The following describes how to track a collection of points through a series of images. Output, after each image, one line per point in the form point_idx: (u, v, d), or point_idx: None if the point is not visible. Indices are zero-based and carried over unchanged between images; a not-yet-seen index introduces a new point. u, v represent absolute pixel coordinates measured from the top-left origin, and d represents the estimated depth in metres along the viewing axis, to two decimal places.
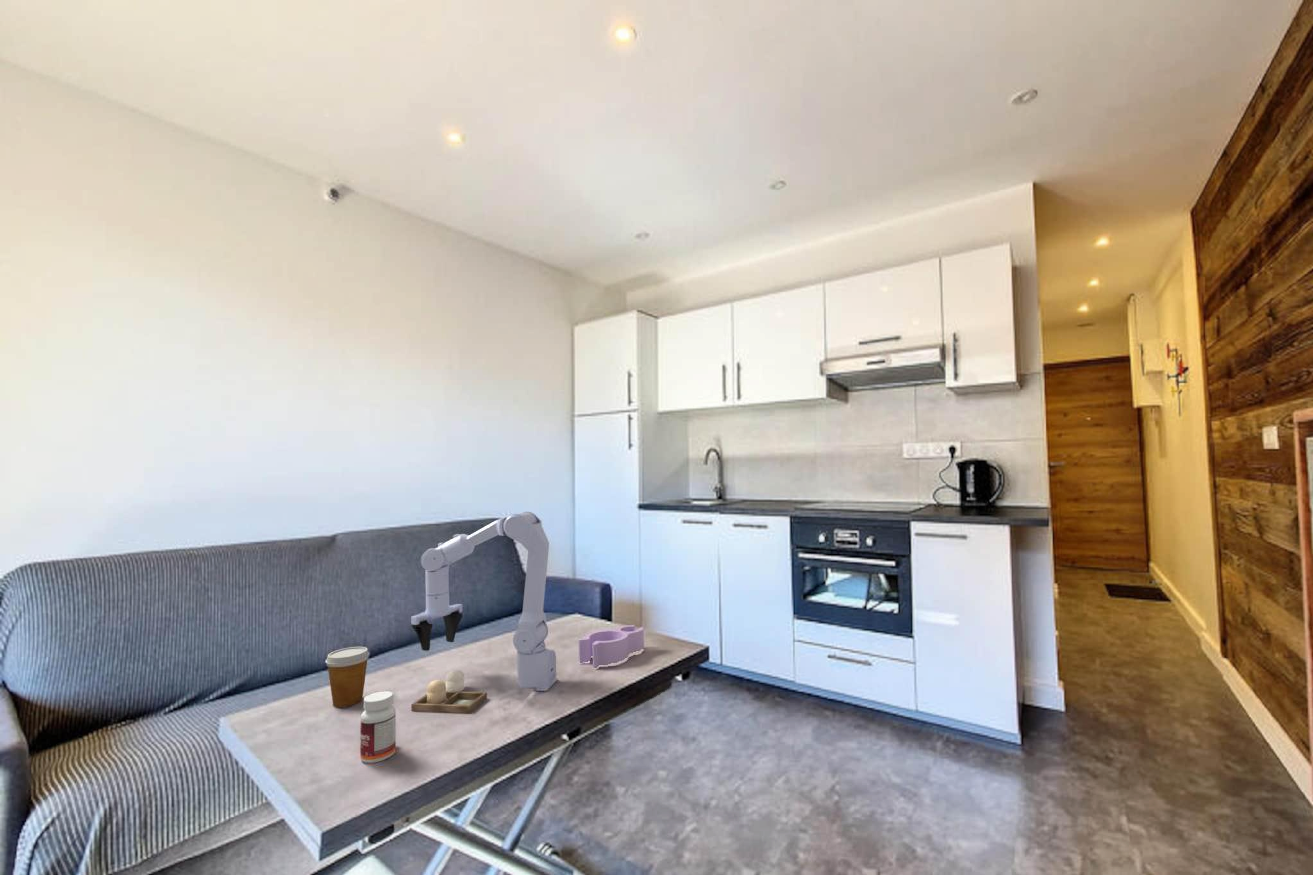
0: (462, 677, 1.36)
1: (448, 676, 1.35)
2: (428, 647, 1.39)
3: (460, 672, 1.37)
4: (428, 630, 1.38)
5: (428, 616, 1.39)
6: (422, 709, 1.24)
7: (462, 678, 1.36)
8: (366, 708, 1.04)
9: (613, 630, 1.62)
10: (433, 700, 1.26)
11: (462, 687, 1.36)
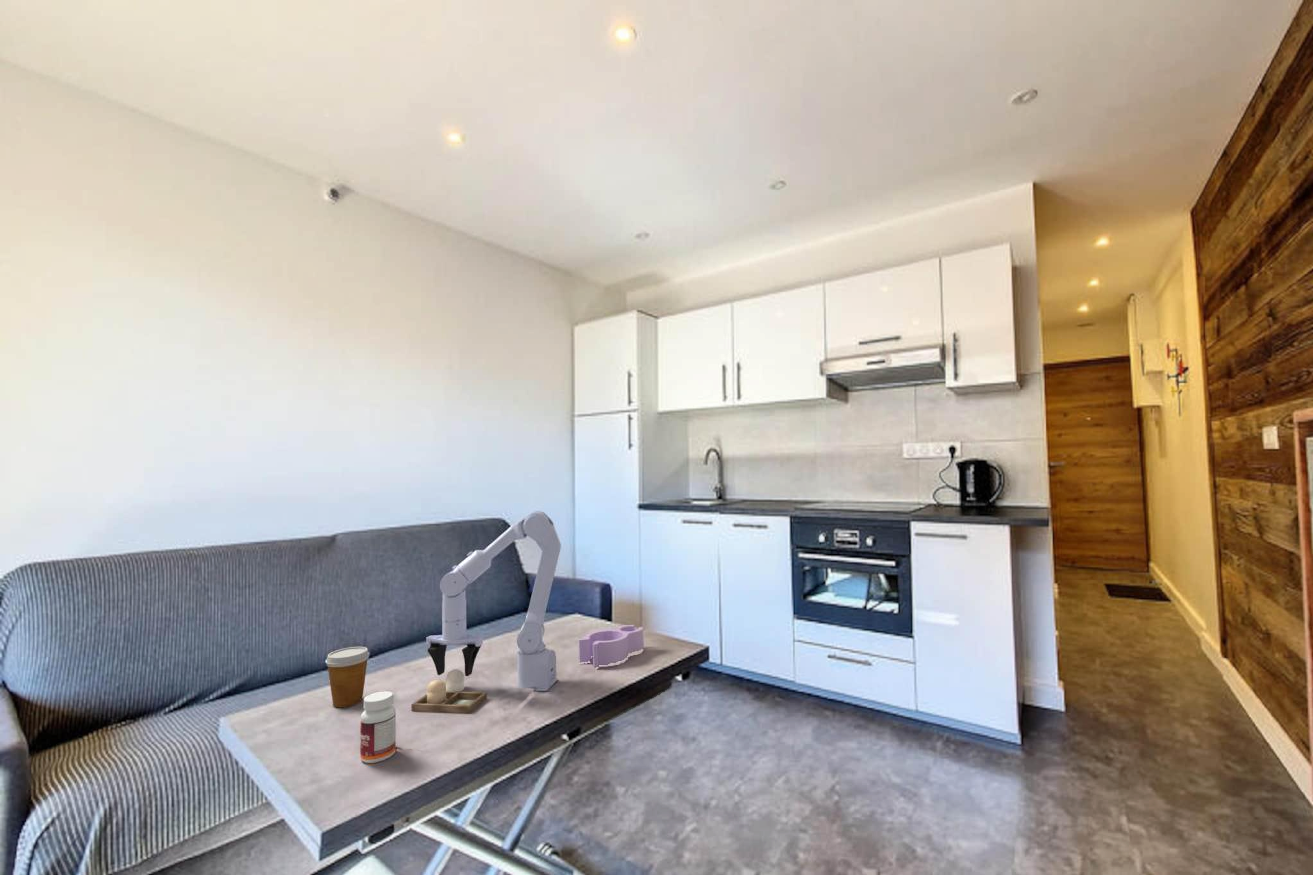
0: (462, 677, 1.36)
1: (448, 676, 1.35)
2: (437, 672, 1.36)
3: (460, 672, 1.37)
4: (433, 655, 1.36)
5: (435, 640, 1.36)
6: (422, 709, 1.24)
7: (462, 678, 1.36)
8: (366, 708, 1.04)
9: (613, 630, 1.62)
10: (433, 700, 1.26)
11: (462, 687, 1.36)
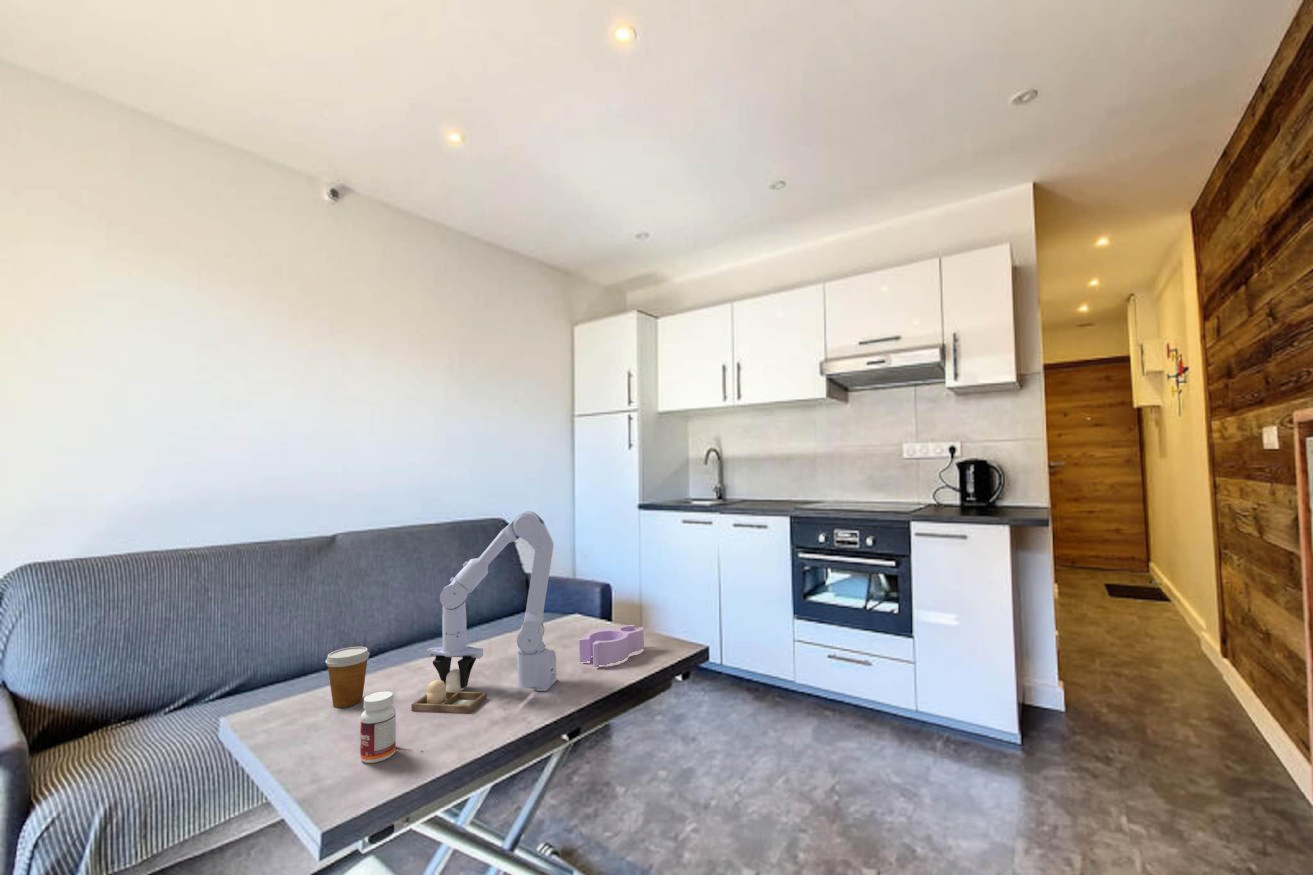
0: None
1: (448, 676, 1.35)
2: None
3: None
4: (438, 667, 1.35)
5: (435, 652, 1.36)
6: (422, 709, 1.24)
7: None
8: (366, 708, 1.04)
9: (613, 630, 1.63)
10: (433, 700, 1.26)
11: None
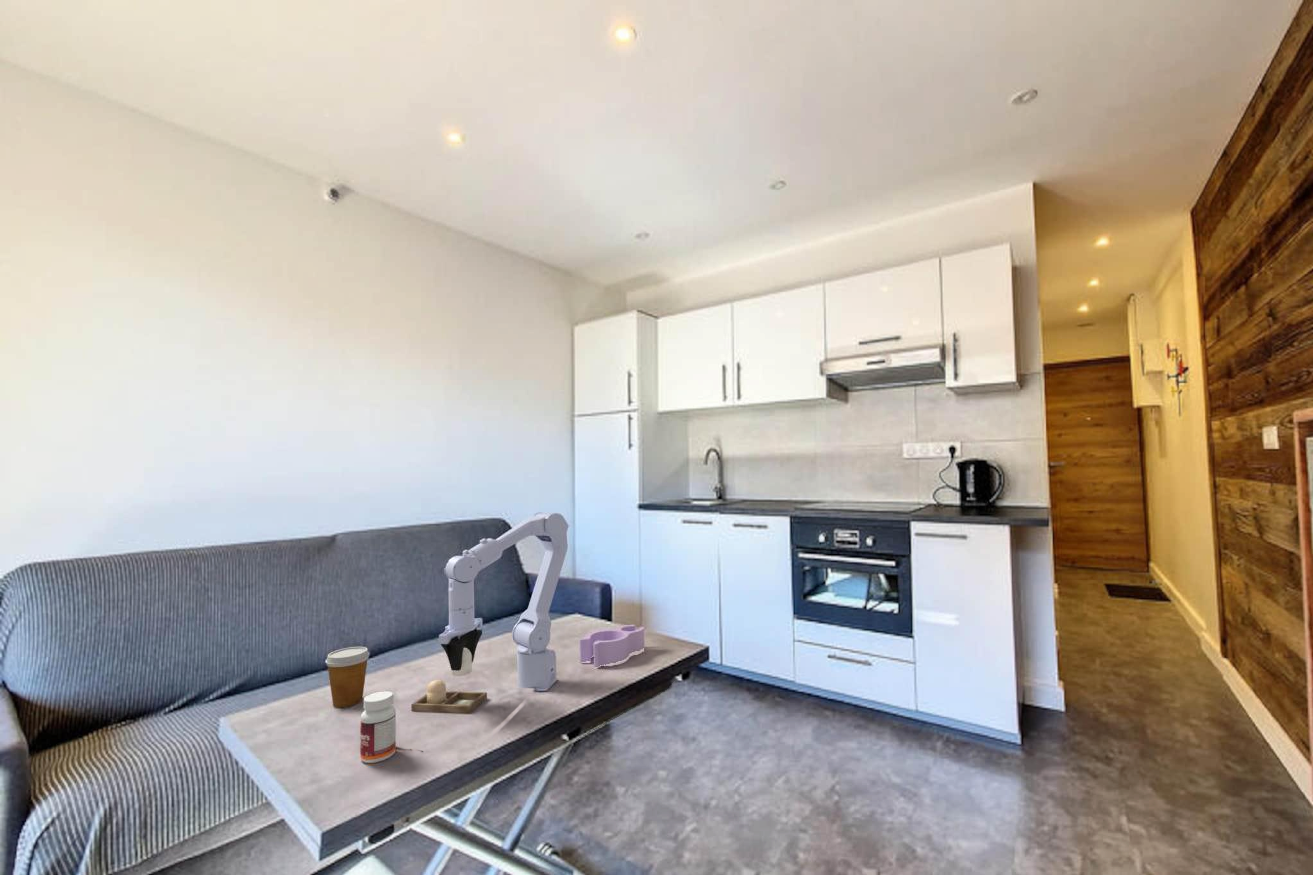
0: None
1: (465, 654, 1.27)
2: (460, 666, 1.25)
3: None
4: (462, 647, 1.24)
5: (457, 633, 1.24)
6: (422, 709, 1.24)
7: None
8: (366, 708, 1.04)
9: (614, 630, 1.63)
10: (433, 700, 1.26)
11: None
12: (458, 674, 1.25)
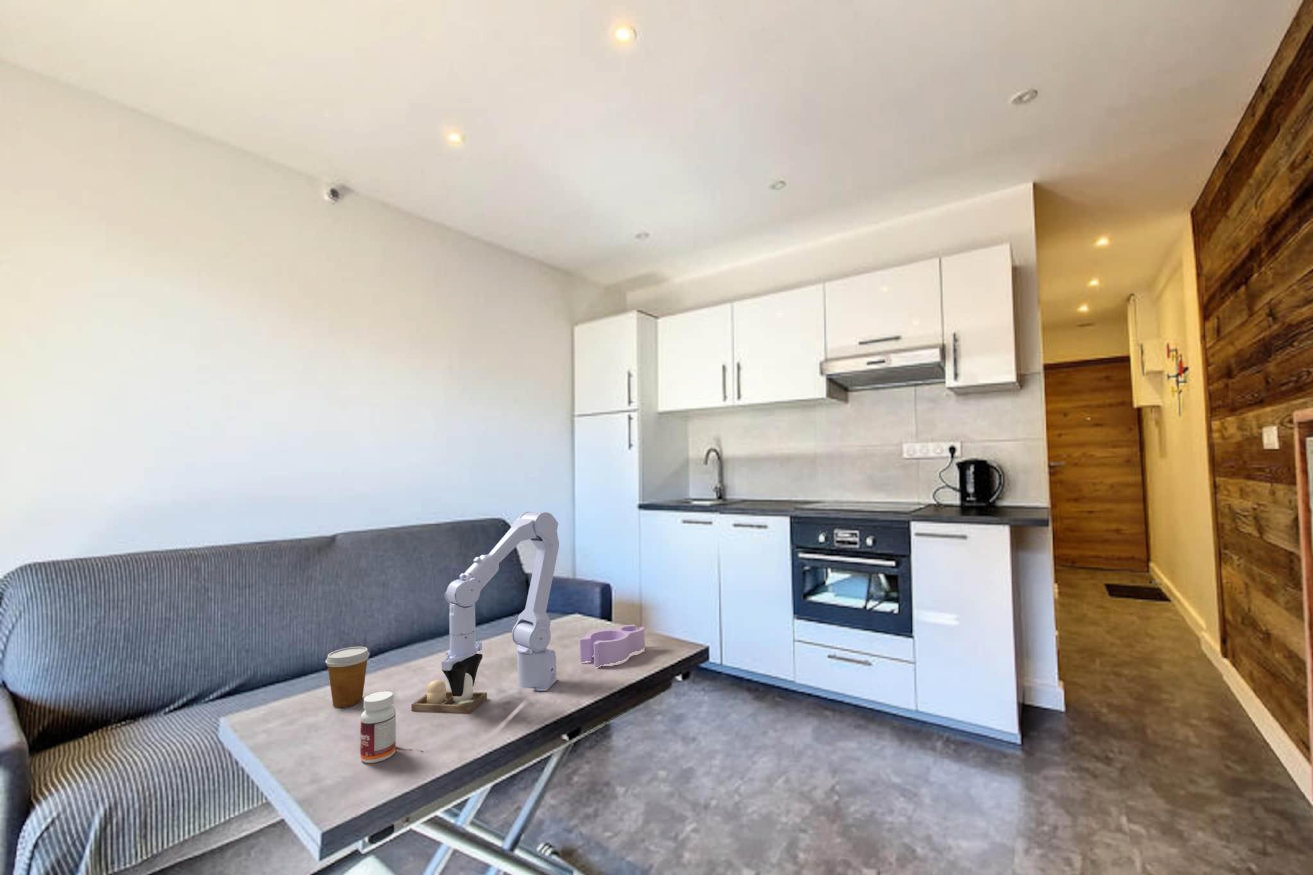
0: None
1: (467, 679, 1.26)
2: (462, 692, 1.24)
3: None
4: (464, 673, 1.23)
5: (460, 659, 1.23)
6: (422, 709, 1.24)
7: None
8: (366, 708, 1.04)
9: (614, 630, 1.63)
10: (433, 700, 1.26)
11: None
12: (459, 700, 1.24)
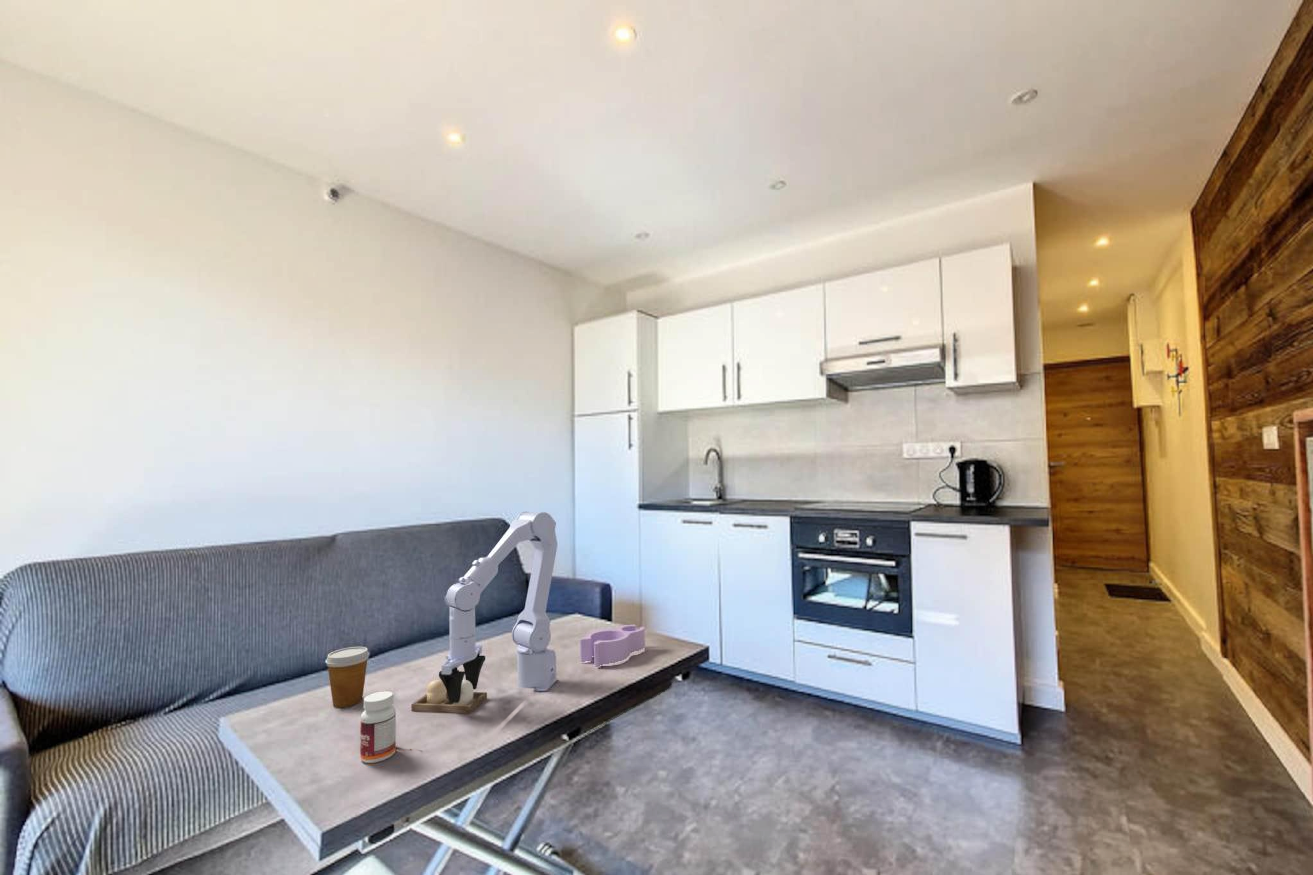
0: None
1: (467, 687, 1.26)
2: (459, 698, 1.23)
3: None
4: (461, 679, 1.22)
5: (460, 663, 1.23)
6: (422, 709, 1.24)
7: None
8: (366, 708, 1.04)
9: (614, 630, 1.63)
10: (433, 700, 1.26)
11: None
12: None
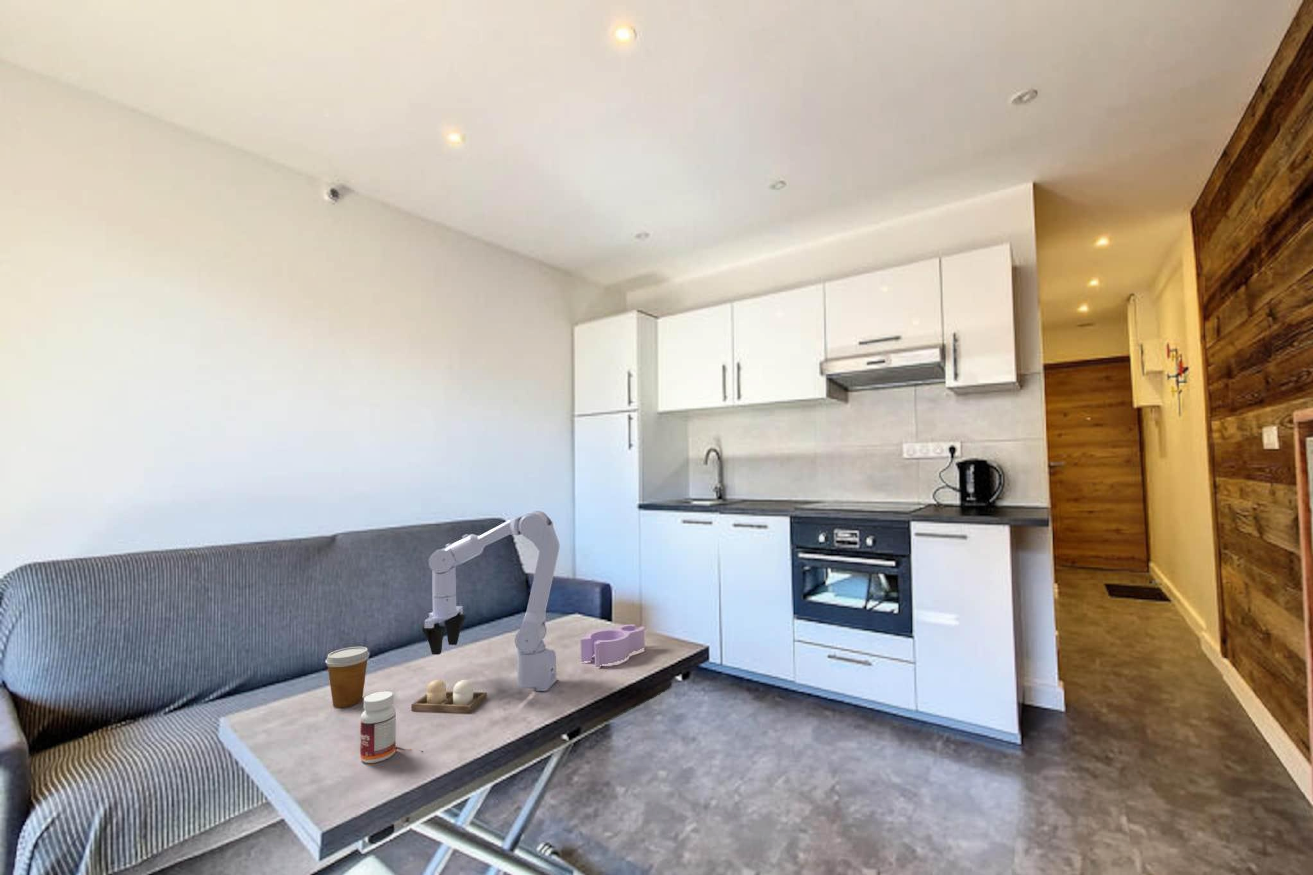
0: None
1: (467, 687, 1.26)
2: (440, 650, 1.36)
3: None
4: (442, 633, 1.35)
5: (441, 618, 1.36)
6: (422, 709, 1.24)
7: None
8: (366, 708, 1.04)
9: (614, 629, 1.63)
10: (433, 700, 1.26)
11: None
12: None
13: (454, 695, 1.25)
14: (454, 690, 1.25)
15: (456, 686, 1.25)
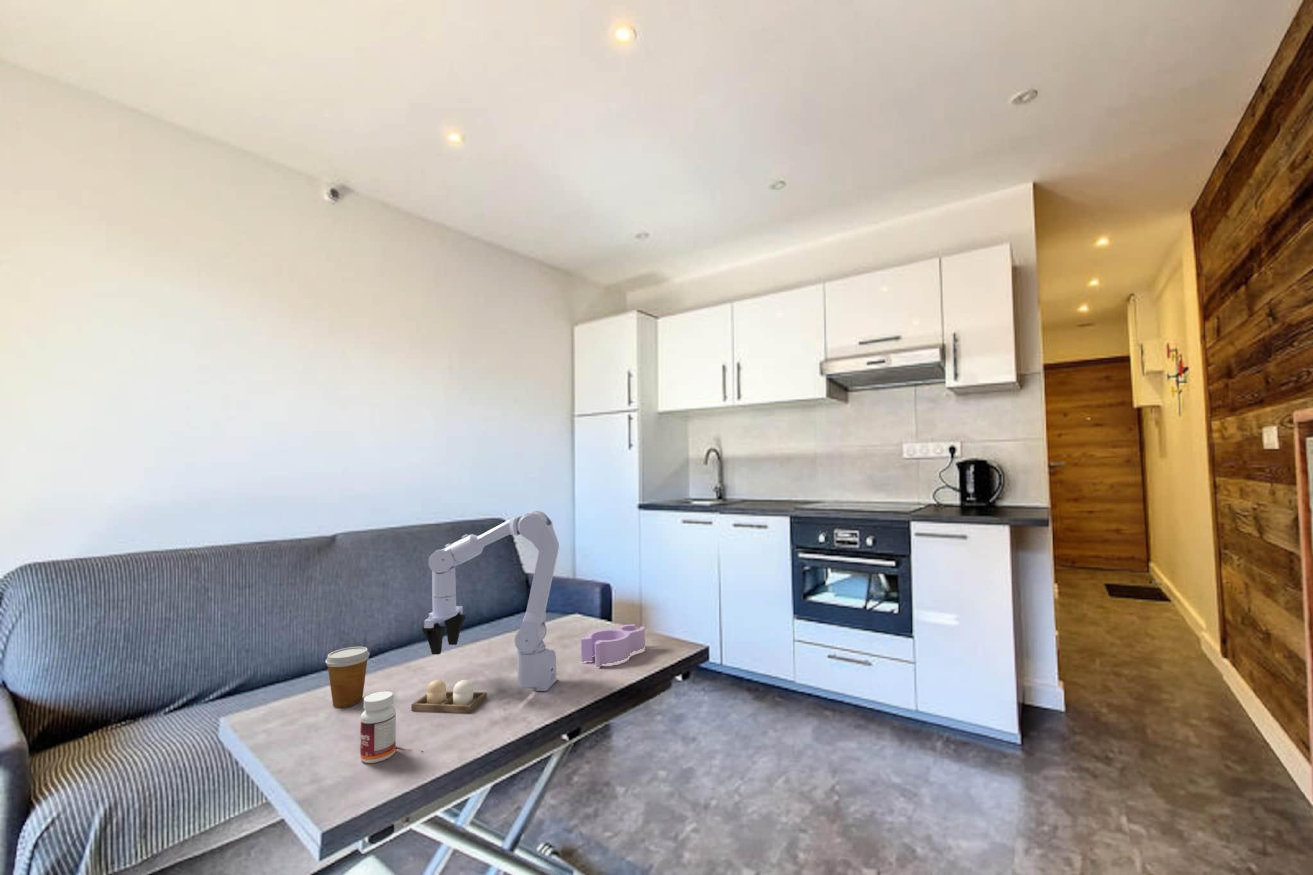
0: None
1: (467, 686, 1.26)
2: (440, 650, 1.36)
3: None
4: (442, 633, 1.35)
5: (441, 618, 1.36)
6: (422, 709, 1.24)
7: None
8: (366, 708, 1.04)
9: (614, 629, 1.63)
10: (433, 700, 1.26)
11: None
12: None
13: (454, 695, 1.25)
14: (454, 690, 1.25)
15: (456, 686, 1.25)
